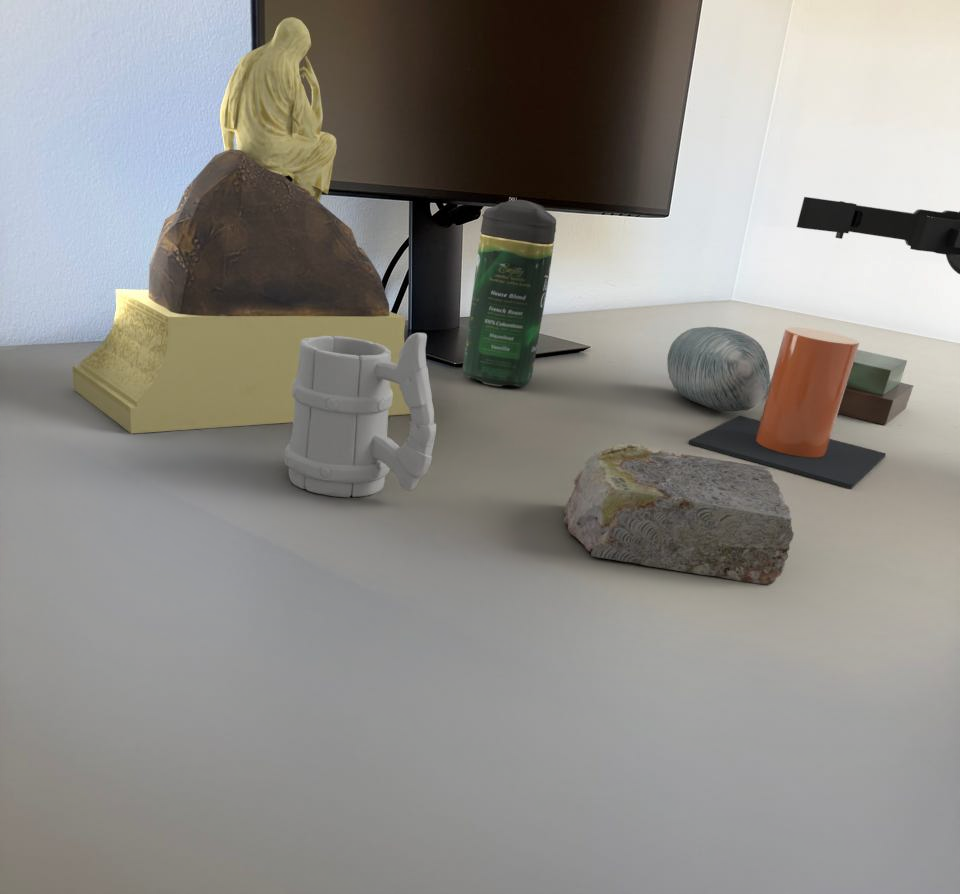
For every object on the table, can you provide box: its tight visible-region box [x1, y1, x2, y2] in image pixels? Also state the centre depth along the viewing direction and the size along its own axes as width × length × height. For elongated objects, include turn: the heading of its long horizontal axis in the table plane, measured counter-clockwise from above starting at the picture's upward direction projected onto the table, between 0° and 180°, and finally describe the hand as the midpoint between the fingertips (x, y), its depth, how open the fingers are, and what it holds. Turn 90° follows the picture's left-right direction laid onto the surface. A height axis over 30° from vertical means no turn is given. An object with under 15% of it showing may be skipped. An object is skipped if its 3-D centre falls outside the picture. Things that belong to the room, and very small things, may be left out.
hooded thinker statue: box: [72, 16, 411, 435], centre depth 81 cm, size 28×13×30 cm, turn 129°
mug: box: [284, 332, 437, 498], centre depth 69 cm, size 8×12×12 cm, turn 59°
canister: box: [756, 327, 860, 458], centre depth 96 cm, size 7×7×11 cm
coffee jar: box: [462, 199, 557, 388], centre depth 105 cm, size 10×8×19 cm
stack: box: [838, 349, 914, 426], centre depth 122 cm, size 14×14×6 cm
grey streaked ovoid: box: [666, 326, 771, 412], centre depth 110 cm, size 14×10×10 cm
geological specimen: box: [563, 442, 795, 585], centre depth 69 cm, size 11×6×15 cm
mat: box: [688, 415, 887, 490], centre depth 98 cm, size 16×16×1 cm
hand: (857, 222), depth 88 cm, fingers open, 13 cm apart
